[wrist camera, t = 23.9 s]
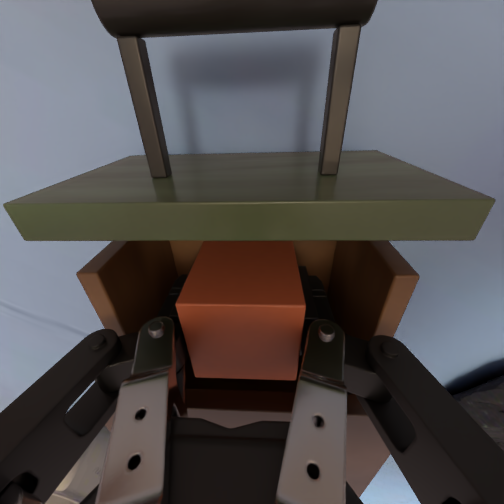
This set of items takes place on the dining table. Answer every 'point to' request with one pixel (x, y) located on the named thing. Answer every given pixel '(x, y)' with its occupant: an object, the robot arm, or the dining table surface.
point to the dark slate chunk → (486, 407)
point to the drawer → (248, 189)
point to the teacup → (83, 473)
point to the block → (243, 310)
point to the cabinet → (280, 409)
